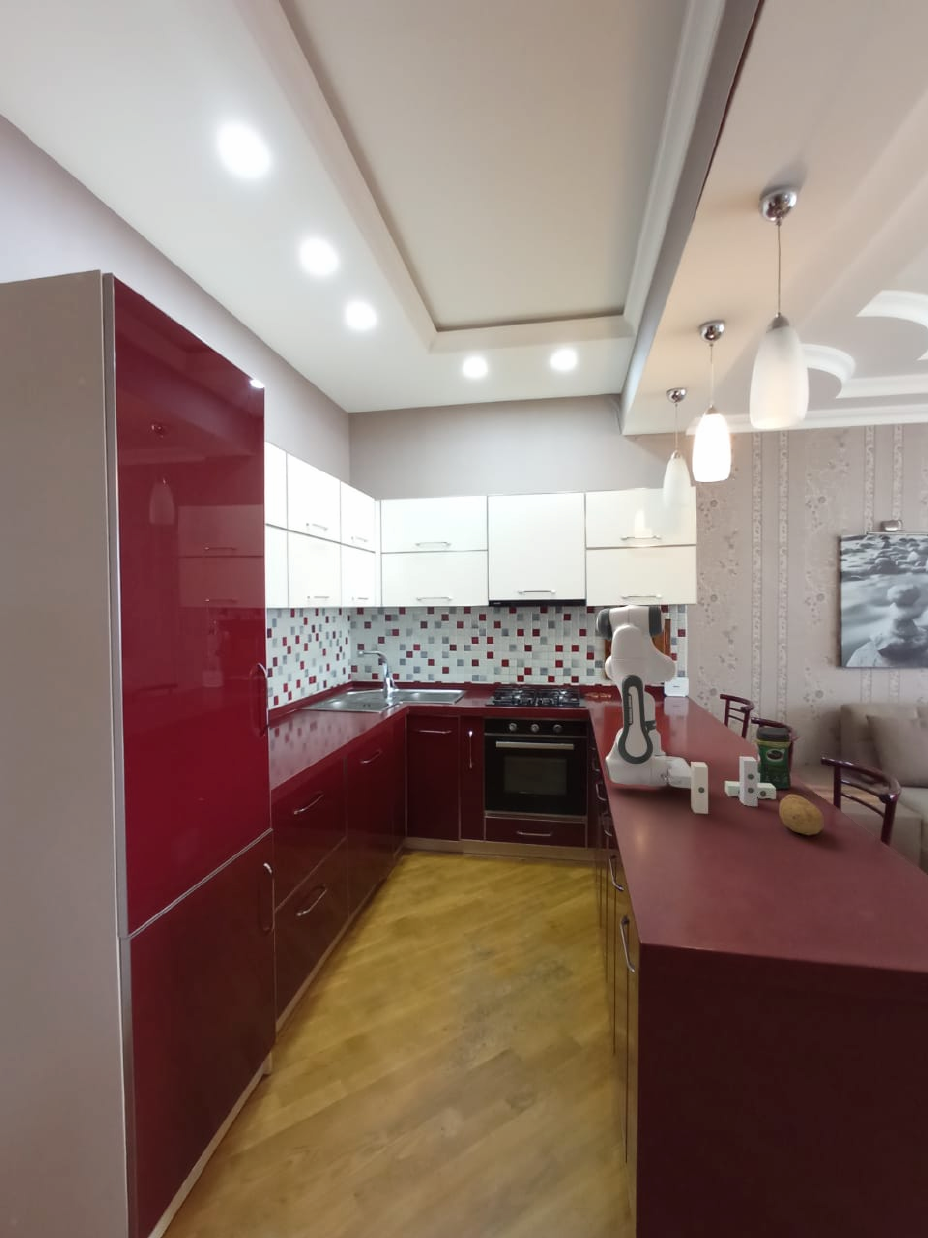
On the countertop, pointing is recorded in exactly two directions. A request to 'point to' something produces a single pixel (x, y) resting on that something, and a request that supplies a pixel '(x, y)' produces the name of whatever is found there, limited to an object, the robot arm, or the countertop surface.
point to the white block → (762, 789)
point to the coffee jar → (773, 757)
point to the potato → (800, 815)
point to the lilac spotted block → (748, 781)
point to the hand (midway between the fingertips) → (706, 773)
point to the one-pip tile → (699, 787)
